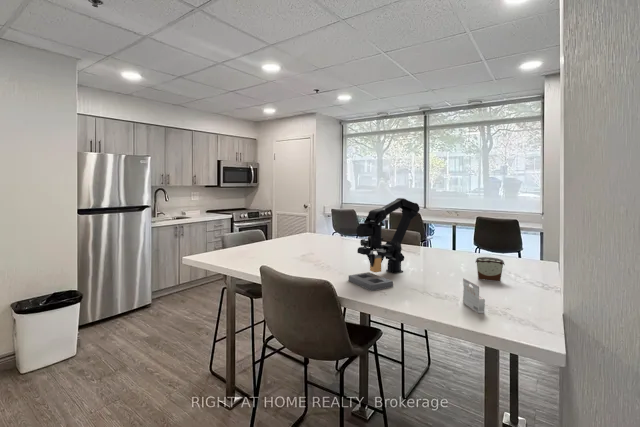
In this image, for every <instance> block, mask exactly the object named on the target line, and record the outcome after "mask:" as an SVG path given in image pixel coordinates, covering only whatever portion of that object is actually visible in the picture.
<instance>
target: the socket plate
mask: <svg viewBox="0 0 640 427" xmlns="http://www.w3.org/2000/svg"><path fill="white" fill-rule="evenodd" d="M348 281H349V282H351V283H352V284H355V285H357V286H359V287H361V288H363V289H366V290H368V291H370V292H373V291H378V290H383V289H388V288H389V289H390V288H393V287H394V281H393V280H391V279H389V278H386V277H383V276H379V275H378V274H375V273H373V272H371V271H370V272H369V271H368V272H362V273H356V274H350V275H348Z"/></svg>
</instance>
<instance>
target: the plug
mask: <svg viewBox="0 0 640 427" xmlns="http://www.w3.org/2000/svg"><path fill="white" fill-rule="evenodd" d="M369 271H370V272H371V273H381V272H382V263H381V256H380V255H378V254H377V253H376V254H375V258H374V265H373V267H371V264H370V263H369Z"/></svg>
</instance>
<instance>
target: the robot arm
mask: <svg viewBox="0 0 640 427" xmlns="http://www.w3.org/2000/svg"><path fill="white" fill-rule="evenodd" d="M398 209H401V219H400V220H399V223H398V224H397V225H398V226H397V227H396V230H395V233H394V234H393V236H392V239H391V240H390V241H388V240H387V241H386V243H385V244H382V242H383V240H384V237H382V236H383V235H382V232H383V228H382V227H385V226H386V224H385V223H384V220H385V219H386V218H387V216H388V215H389V214H392V213H393V212H395V211H397V210H398ZM419 212H420V206H419V204H418V203H417V202H414V201H410V200H407V199H406V198H403V197H398V198H396V199H395V200H393V201H391V202H390V203H388V204H386V205H384V206H382V207H380V208H374V209H372V210H370V211H368V215H367V216H366V218H365V220H364V221H363V222H359V223H358V226H357V228H356V230H355V231H356V235H357V237H359V238H363V239H360V242H359V243H360V246H359V247H357V254H360V255H365V256H366V257H367V259H368V262H369V265H370V264H371V267H373V265H374V258H375V255H376V254H377V255H380V256H381V264H382V263H383V261H384V259H386V260H387V269H386V270H385V271H386V272H389V273H391V274H397V273H403V272H404V270H402V262H404V260H405V256H404V254H403V253H402V250H403V249H402V243H403V240H404V237H405V235H406V233H407V230H408V228H409V226H410V224H411V221H412V220H413V219H415V217H416V216H417V215H418V214H419ZM365 237H368V238H367V240H366V239H364V238H365ZM374 252H376V254H375V253H374Z"/></svg>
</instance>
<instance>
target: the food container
mask: <svg viewBox="0 0 640 427" xmlns="http://www.w3.org/2000/svg"><path fill="white" fill-rule="evenodd" d="M475 264H476V270H477V272H476V273H477V280H480V281H490V282H498V283H501V280H502V274H503V267H504V266H505V261H504V260H503V259H501V258H497V257H489V256H481V257H477V258H476V259H475Z"/></svg>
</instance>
